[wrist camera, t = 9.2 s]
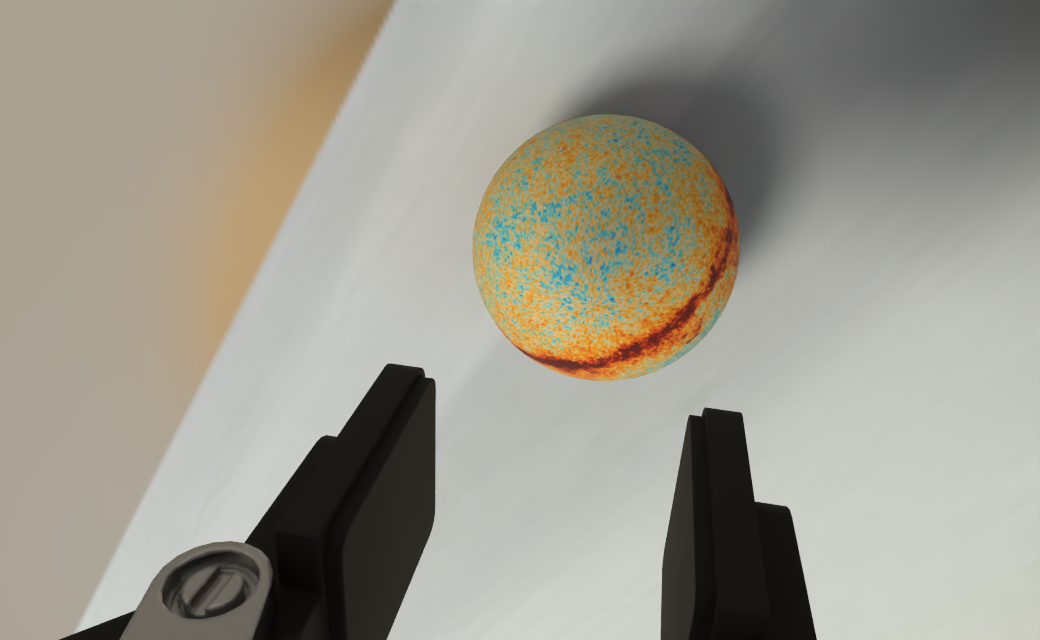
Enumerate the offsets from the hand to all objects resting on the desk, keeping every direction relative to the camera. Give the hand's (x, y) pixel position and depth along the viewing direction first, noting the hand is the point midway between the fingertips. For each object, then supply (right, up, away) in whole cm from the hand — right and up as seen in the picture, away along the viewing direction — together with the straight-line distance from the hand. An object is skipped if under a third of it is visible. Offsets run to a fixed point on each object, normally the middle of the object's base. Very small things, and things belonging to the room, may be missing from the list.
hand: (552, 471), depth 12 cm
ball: (+2, +6, +12) cm, 13 cm away
